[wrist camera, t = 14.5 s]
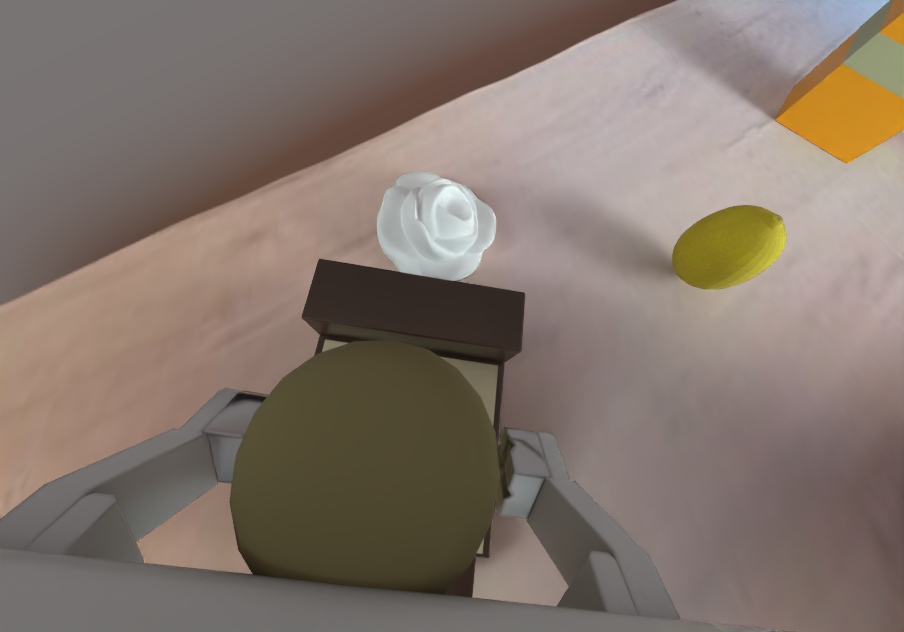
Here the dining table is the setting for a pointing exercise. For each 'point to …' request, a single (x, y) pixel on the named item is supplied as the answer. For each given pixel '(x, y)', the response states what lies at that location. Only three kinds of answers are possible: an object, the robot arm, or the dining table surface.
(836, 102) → the orange juice
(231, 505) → the cork
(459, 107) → the dining table surface
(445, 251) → the rose
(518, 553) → the dining table surface
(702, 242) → the lemon
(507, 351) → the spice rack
